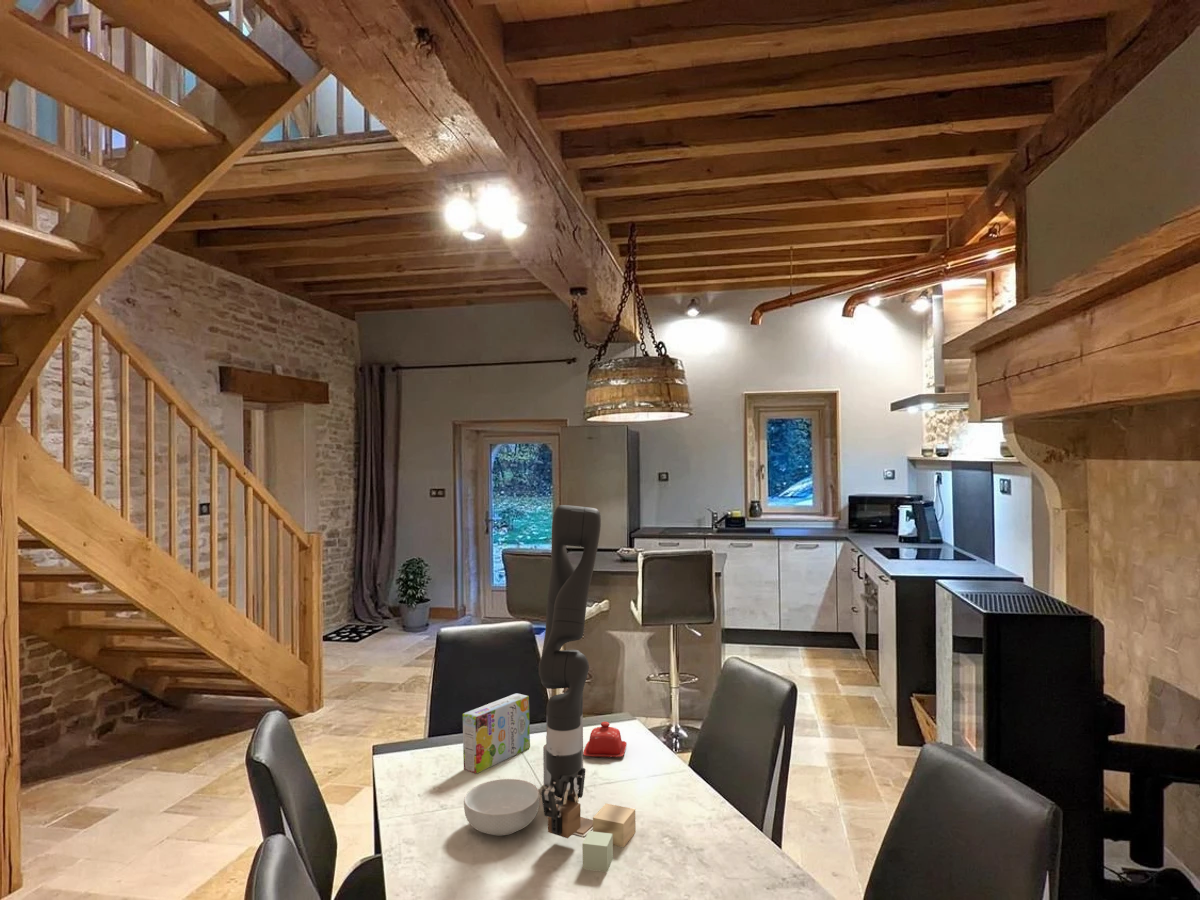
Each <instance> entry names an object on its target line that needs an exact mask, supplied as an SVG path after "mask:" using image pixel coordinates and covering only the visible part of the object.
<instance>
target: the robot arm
mask: <svg viewBox="0 0 1200 900" xmlns="http://www.w3.org/2000/svg"><path fill="white" fill-rule="evenodd" d="M601 525H602V518H601V512H600V511H599V509H597V508H595V507H588V506H587V507H586V506H578V505H568V504H561V505H557V507H556V508H555V510H554V513H553V517H552V523H551V555H550V557H551V558H550V559H551V562H550V575H549V582H548V589H547V598H546V613H545V614H546V617H545V618H546V620H545V629H544V630H545V632H544V640H543V644H542V652H541V655H540V656H541V657H540V660H539V663H538V675H539V678H540V682H541V684H542V686H543V687H544V688H545V689H546V690H547V689H548V690H556V689H558V690H559V689H566V691H565V692H563V693H558V694H555V695H552V696H551V697H550V698H548V701H547V704H546V714H545V715H546V735H545V737H546V738H545V744H544V745H543V754H542V755H543V756H542V757H543V758H542V760H543V764H542V765H543V785H545V786H547V788H546V789H545V788H542V790H541V792H540V793H541V803H542V807H543V808H542V809H543V813H544V814H543V815H544V816H545V817H547V818H548V817H551V830H552V833H553V835H555V834H556V836H558V835H561V834H562V812H563V806H564V805H566V801H567V800H569V801H573V802H576V803H579V802H580V801H579V799H581V798H582V797H583V796H584V788H585V787H584V786H585V779H586V768H584V755H583V752H584V727H583V726H584V724H583V722H584V721H583V720H584V715H583V709H584V707H583V704H584V702H583V701H584V688H585V685H586V681H587V678H588V675H589V672H590V671H589V670H590V669H589V668H590V667H589V666H590V664H589V661H588V658H587V656H586V655H585V654H584V653H582V652H581V651H580V650H579V649H564V650H561V649H562V648H563V647H564V645H565V644H567V643H570V642H575V641H579V640H581V639H582V638H583V636H584V633H585V623H586V612H587V606H588V605H587V603H588V596H589V591H590V586H591V582H592V578H593V572H594V567H595V563H596V559H597V558H596V557H597V553H598V548H599V542H600V535H601ZM567 546H569V547H579V548H580V547H581V548H583V553H582V556H581V559H580V561H579V563H578V564H577V565H576V568H575V567H574V566H573V565H574V564H572V561H571V560H570V558H569V555H568V550H567ZM558 798H559V799H560V798H562V800H559V799H558ZM556 804H558V806H559V807H558V810H557V808H556ZM549 808H550V810H549ZM552 833H551V834H552Z"/></svg>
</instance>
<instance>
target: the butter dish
mask: <svg viewBox="0 0 1200 900" xmlns="http://www.w3.org/2000/svg"><path fill="white" fill-rule="evenodd" d="M626 749H627V741H623V740H622V735H621V731H620V730H619V729H618V728H616V727H613V726H610V723H609V722H608V721H602V722H601V723H600V726H597V727H594V728H593V729H592V730H591V732H590V735H589V740H588V741H587V743H586V744H585V746H584V748H583V756H585V757H595V758H621V757H623V756H624V755H625V752H626Z"/></svg>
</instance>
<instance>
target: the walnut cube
mask: <svg viewBox="0 0 1200 900" xmlns="http://www.w3.org/2000/svg"><path fill="white" fill-rule="evenodd" d="M558 800H562V798H559V799H558ZM558 807H559V806H558V804H556V808H557V810H558ZM549 810H550V808H549ZM580 817H581V803H579V802H578V803H576V802H573V801H569V800H567V801H566V805H564V806H563V812H562V834H561V835H556V834H553V833H552V830H551V817H548V816H547V833H549V834H553V835H556V836H559V837H562V838H565V839H569V838H570V837H572V836H573V835H575V834H574V833H575V832H576V831H577V830H578V829H579V828H580V827H581V823H580Z"/></svg>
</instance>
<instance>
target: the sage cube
mask: <svg viewBox="0 0 1200 900" xmlns="http://www.w3.org/2000/svg"><path fill="white" fill-rule="evenodd" d="M581 847H582V870H588V871H597V872H604V873H607V872H608V871H609V869H610V867H611V864H612V862H613V859H614V845H613V834H611V833H602V832H593V830H591V831H589V832H588V834H587V835H586V836H585V837H584V840H583V842H582V846H581Z"/></svg>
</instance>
